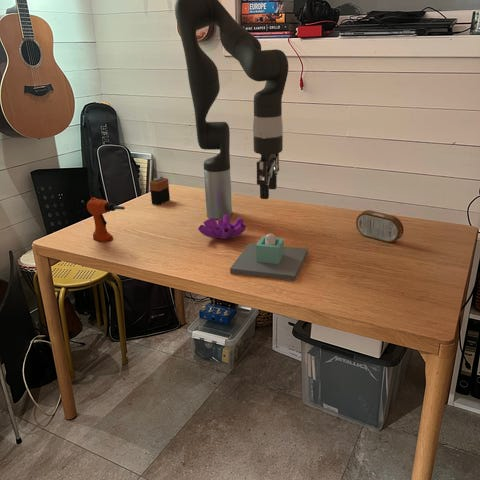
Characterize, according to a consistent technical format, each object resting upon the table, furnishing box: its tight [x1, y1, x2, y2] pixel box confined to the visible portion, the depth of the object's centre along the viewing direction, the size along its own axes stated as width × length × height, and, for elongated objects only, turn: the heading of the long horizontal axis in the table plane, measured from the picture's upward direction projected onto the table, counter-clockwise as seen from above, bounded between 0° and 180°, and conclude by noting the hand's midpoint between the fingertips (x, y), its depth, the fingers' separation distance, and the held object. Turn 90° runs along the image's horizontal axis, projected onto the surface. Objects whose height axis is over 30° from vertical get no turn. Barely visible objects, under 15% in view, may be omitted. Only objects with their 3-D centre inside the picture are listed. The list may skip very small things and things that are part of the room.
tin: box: [355, 209, 404, 244], centre depth 150 cm, size 15×3×8 cm, turn 47°
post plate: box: [229, 233, 309, 282], centre depth 136 cm, size 18×18×9 cm
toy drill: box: [86, 197, 126, 243], centre depth 153 cm, size 5×18×14 cm, turn 53°
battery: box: [149, 175, 171, 206], centre depth 190 cm, size 4×7×10 cm, turn 152°
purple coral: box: [197, 215, 247, 240], centre depth 155 cm, size 11×15×10 cm
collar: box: [256, 236, 285, 264], centre depth 136 cm, size 6×6×5 cm
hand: (268, 193), depth 131 cm, fingers open, 8 cm apart
